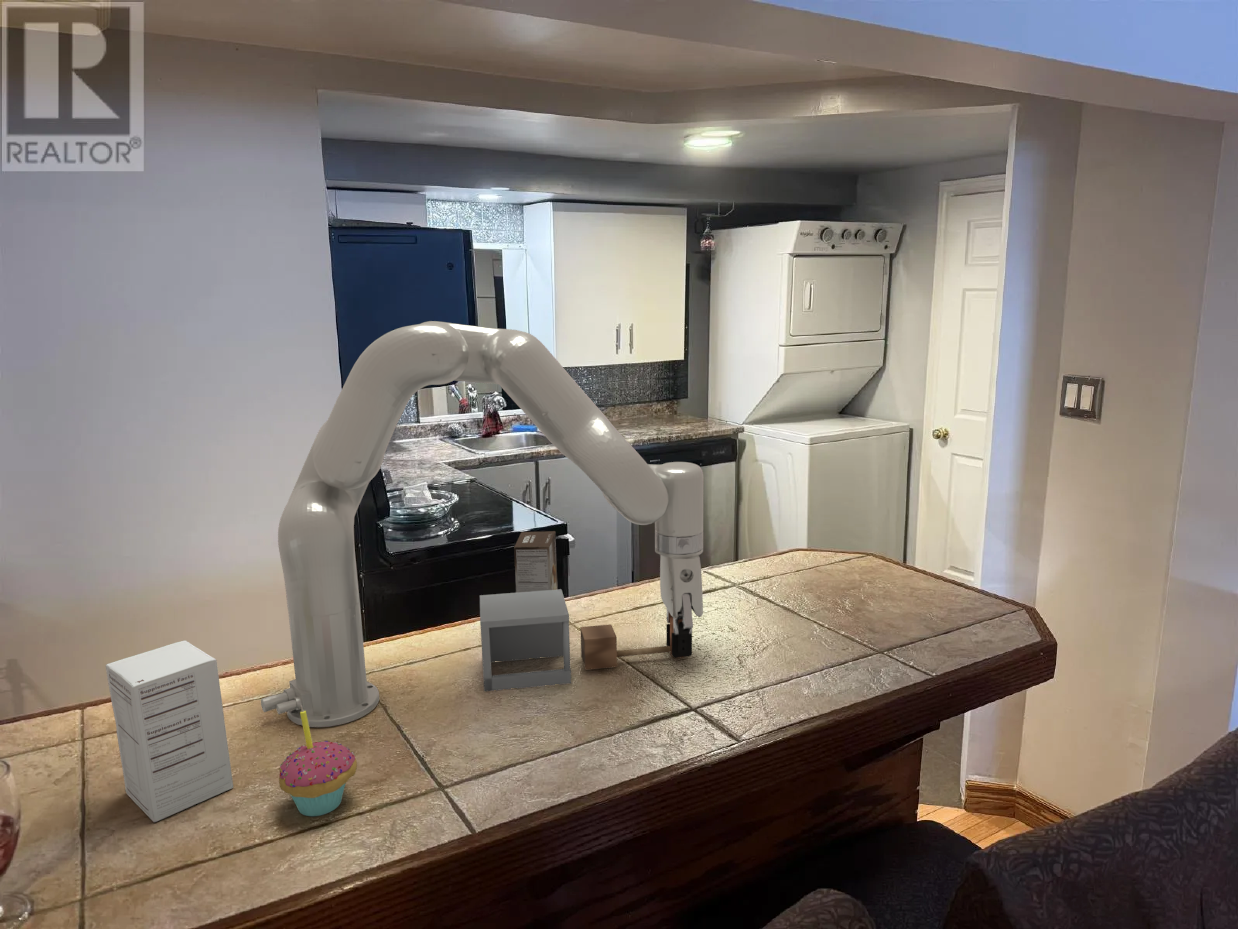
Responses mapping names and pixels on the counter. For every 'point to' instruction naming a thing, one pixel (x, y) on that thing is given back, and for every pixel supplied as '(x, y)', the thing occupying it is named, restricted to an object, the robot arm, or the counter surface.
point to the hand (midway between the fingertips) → (679, 650)
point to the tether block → (611, 647)
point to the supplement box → (170, 728)
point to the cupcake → (317, 774)
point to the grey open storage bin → (524, 636)
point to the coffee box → (535, 562)
